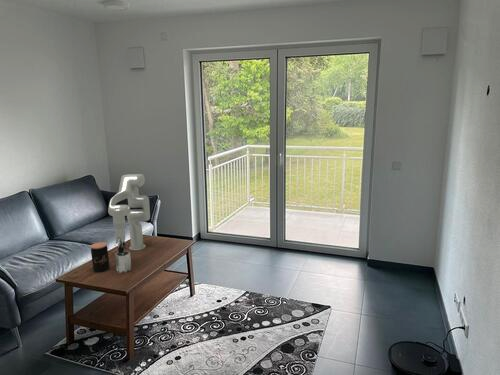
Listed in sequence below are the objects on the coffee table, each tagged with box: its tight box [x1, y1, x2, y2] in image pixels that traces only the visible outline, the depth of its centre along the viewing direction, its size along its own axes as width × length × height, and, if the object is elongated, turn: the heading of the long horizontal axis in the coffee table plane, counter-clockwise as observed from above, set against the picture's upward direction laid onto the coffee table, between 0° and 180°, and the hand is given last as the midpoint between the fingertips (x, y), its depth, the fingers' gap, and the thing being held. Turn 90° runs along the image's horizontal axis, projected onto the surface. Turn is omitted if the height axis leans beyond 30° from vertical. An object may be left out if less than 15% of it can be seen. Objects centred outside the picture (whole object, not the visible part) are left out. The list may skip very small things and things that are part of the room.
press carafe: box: [114, 250, 132, 274], centre depth 260 cm, size 12×9×12 cm
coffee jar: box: [90, 241, 110, 273], centre depth 260 cm, size 11×11×18 cm
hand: (122, 250), depth 257 cm, fingers open, 6 cm apart
